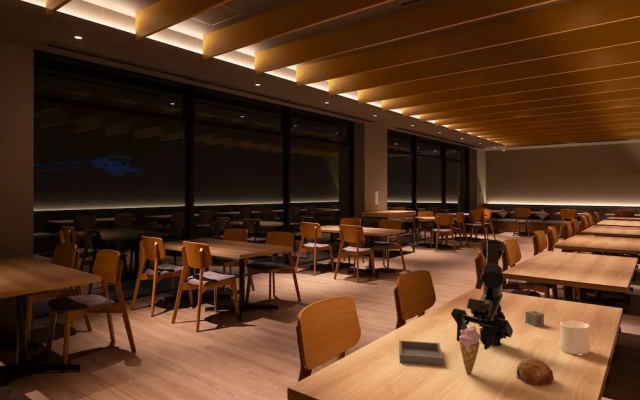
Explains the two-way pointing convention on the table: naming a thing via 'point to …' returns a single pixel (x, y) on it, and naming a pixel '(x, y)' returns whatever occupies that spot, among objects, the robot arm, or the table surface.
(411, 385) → the table surface
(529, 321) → the dice cube
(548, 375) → the bread roll
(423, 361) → the tray
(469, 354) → the ice cream cone
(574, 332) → the cup
